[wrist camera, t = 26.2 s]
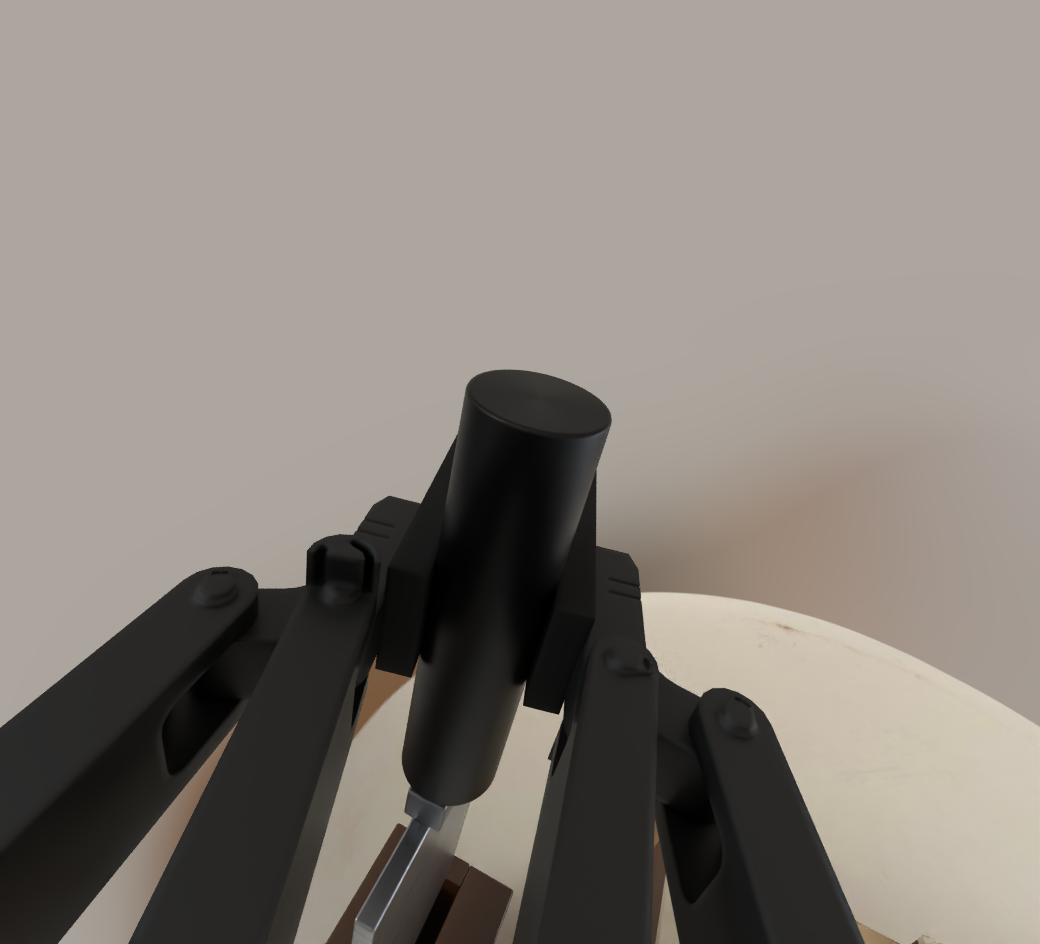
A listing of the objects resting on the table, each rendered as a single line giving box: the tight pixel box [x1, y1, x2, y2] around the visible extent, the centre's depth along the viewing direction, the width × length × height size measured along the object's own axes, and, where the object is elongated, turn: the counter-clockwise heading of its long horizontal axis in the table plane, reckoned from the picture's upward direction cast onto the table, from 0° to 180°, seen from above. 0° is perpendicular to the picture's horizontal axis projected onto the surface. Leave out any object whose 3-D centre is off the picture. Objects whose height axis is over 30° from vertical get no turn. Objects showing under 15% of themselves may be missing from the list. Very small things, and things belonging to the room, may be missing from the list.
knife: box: [352, 370, 612, 944], centre depth 15 cm, size 2×7×23 cm, turn 158°
